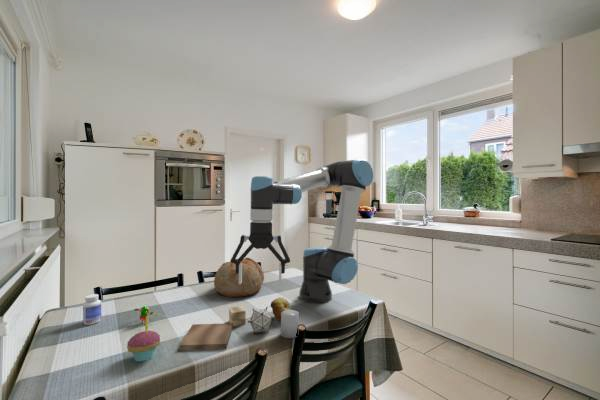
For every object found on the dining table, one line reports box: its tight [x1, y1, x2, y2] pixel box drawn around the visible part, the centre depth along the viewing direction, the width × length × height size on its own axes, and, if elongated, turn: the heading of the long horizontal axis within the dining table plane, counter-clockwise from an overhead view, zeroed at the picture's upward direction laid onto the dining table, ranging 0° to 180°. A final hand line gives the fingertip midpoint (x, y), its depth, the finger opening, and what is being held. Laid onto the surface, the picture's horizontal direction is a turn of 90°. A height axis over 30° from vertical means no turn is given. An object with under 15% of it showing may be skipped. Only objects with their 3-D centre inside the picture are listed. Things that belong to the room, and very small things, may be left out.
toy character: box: [133, 305, 156, 326], centre depth 105 cm, size 11×12×7 cm
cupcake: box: [127, 313, 161, 363], centre depth 83 cm, size 9×8×12 cm
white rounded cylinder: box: [280, 309, 300, 339], centre depth 98 cm, size 6×6×7 cm
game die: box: [247, 306, 275, 336], centre depth 99 cm, size 9×8×10 cm
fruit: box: [270, 297, 291, 321], centre depth 110 cm, size 8×8×8 cm
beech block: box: [228, 305, 247, 327], centre depth 107 cm, size 5×5×5 cm
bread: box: [213, 257, 265, 298], centre depth 144 cm, size 26×23×15 cm
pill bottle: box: [82, 293, 102, 326], centre depth 105 cm, size 5×5×10 cm
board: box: [179, 322, 234, 351], centre depth 95 cm, size 14×14×2 cm
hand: (260, 282), depth 99 cm, fingers open, 13 cm apart
